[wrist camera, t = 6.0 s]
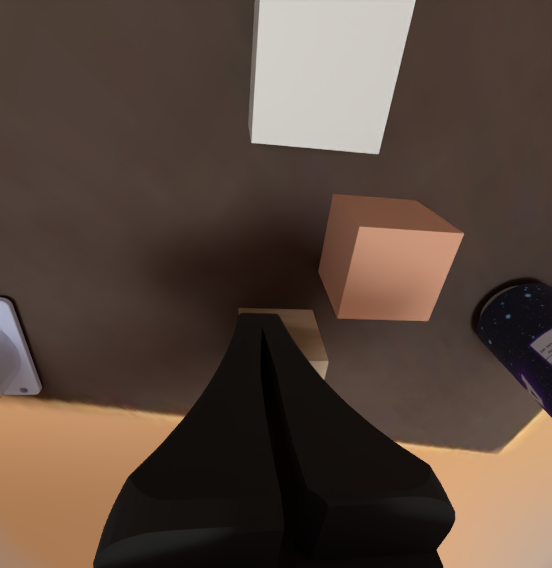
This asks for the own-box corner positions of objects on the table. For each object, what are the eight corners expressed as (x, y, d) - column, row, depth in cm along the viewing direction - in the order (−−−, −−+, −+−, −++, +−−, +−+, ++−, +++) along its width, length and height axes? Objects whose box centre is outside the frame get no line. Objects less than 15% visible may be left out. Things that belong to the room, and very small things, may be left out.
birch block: (235, 362, 25) (235, 421, 21) (238, 307, 23) (238, 360, 18) (302, 363, 26) (314, 419, 22) (312, 309, 23) (328, 361, 19)
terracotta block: (317, 271, 22) (337, 318, 18) (332, 193, 19) (359, 226, 15) (392, 274, 22) (428, 321, 18) (415, 200, 20) (464, 233, 16)
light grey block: (248, 125, 17) (251, 142, 13) (255, -3, 14) (261, -36, 10) (344, 135, 18) (378, 154, 13) (367, 13, 15) (418, -11, 11)
